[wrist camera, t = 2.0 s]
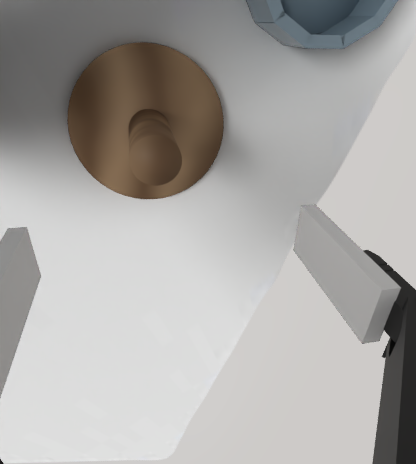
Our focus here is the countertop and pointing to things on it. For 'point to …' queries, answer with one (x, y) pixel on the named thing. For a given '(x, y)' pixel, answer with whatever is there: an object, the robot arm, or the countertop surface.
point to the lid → (145, 120)
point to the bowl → (319, 20)
